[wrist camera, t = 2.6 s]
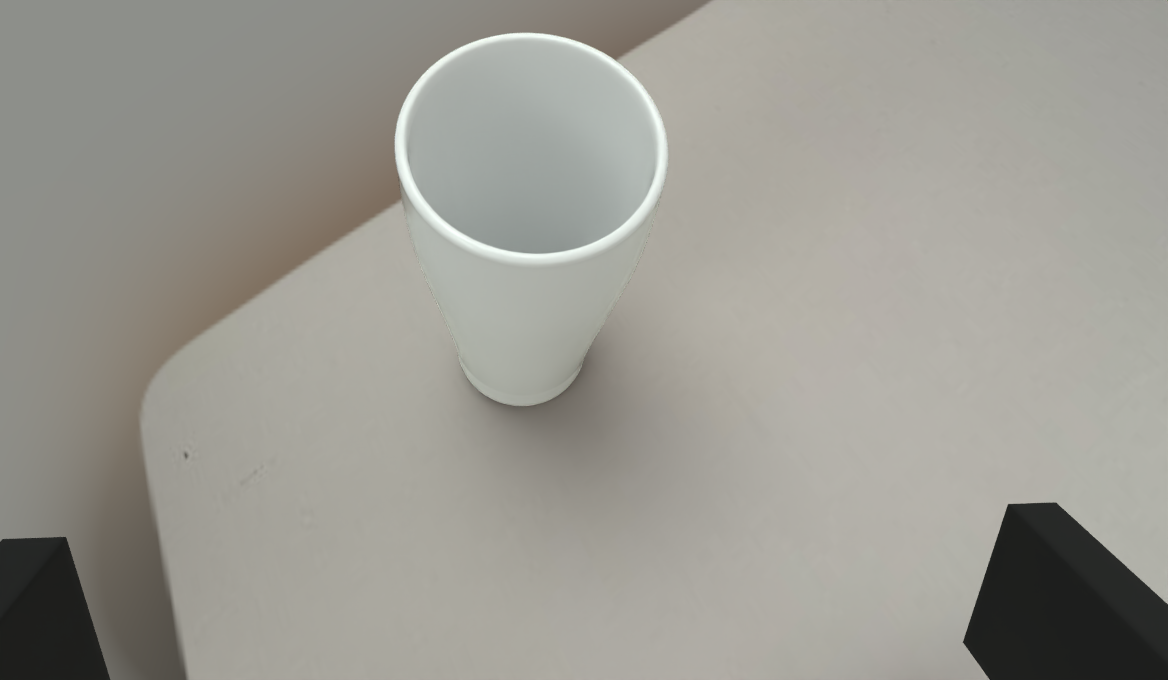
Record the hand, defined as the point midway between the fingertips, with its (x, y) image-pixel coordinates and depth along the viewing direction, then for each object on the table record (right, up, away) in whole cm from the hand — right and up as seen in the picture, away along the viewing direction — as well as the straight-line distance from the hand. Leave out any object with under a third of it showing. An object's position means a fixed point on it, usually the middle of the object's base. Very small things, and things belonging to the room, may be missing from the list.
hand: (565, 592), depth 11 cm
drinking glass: (-2, +3, +21) cm, 22 cm away
